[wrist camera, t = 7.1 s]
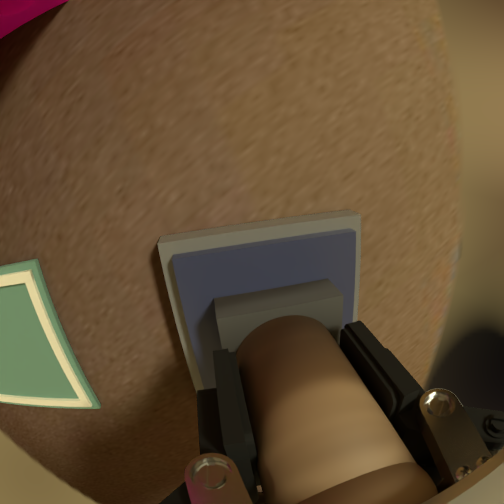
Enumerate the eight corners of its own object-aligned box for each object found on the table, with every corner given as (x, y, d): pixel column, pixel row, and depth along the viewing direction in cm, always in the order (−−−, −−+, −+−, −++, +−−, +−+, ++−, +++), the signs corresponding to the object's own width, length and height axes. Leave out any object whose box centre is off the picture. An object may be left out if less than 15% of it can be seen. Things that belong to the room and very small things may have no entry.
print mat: (-63, 280, 10) (-67, 283, 9) (37, 258, 11) (32, 262, 11) (-3, 399, 13) (-6, 403, 13) (101, 405, 14) (99, 411, 14)
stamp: (213, 298, 11) (274, 618, 2) (327, 278, 12) (515, 501, 2) (230, 383, 13) (281, 611, 3) (325, 363, 13) (433, 555, 4)
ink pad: (160, 236, 12) (155, 248, 10) (350, 209, 13) (366, 217, 11) (201, 398, 15) (202, 418, 13) (343, 368, 16) (354, 385, 14)
